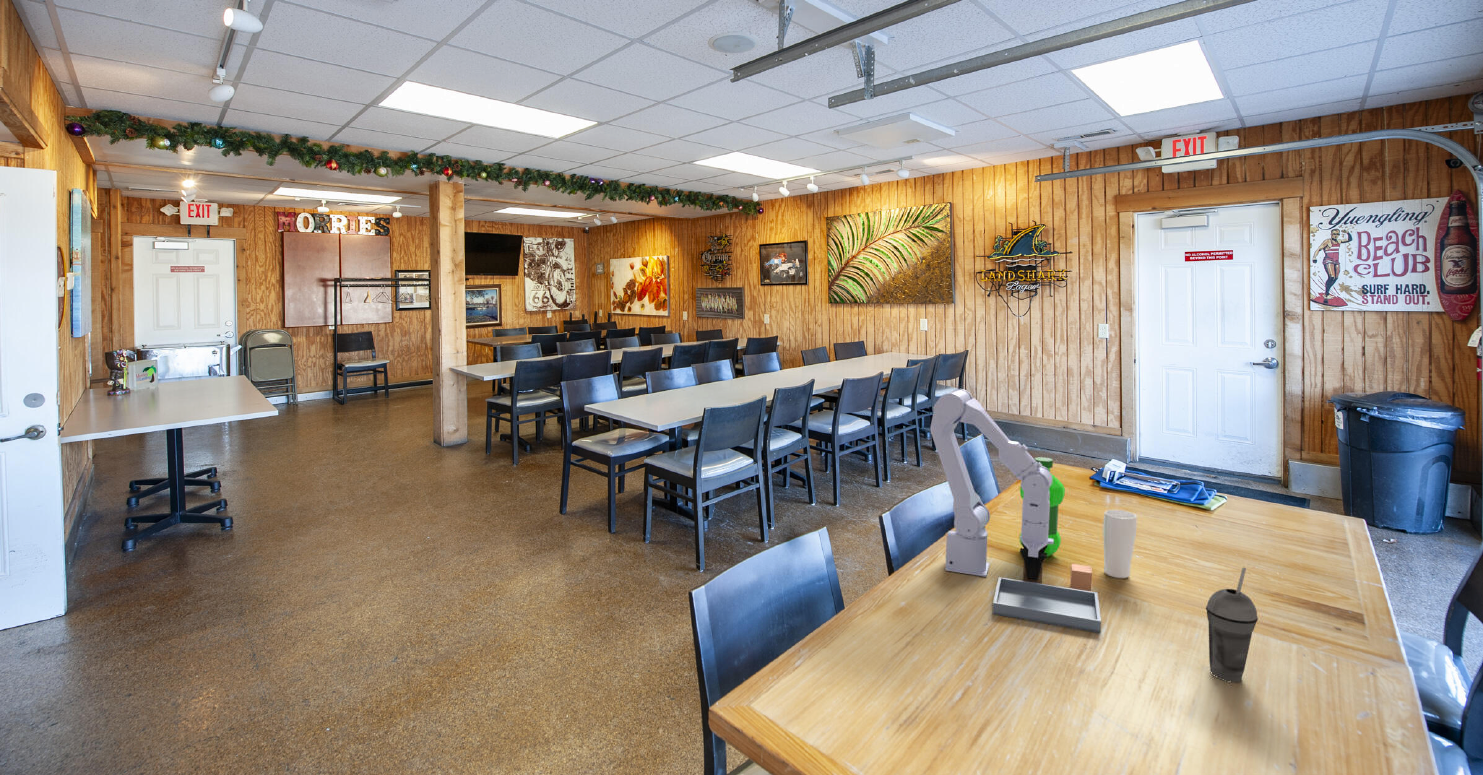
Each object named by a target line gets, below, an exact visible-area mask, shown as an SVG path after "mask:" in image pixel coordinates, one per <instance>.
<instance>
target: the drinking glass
mask: <svg viewBox="0 0 1483 775" xmlns="http://www.w3.org/2000/svg"><path fill="white" fill-rule="evenodd" d="M1137 518H1138V516H1137V514H1135V513H1133V512H1130V511H1127V510H1123V509H1109V510H1105V511H1104V515H1103V523H1102V524H1103V525H1102V526H1103V527H1102V533H1103V558H1104V559H1103V560H1104V565H1103V571H1104V573H1105V574H1106V575H1107V576H1109V577H1111V578H1114V579H1126V578H1127V579H1128V577H1130V575H1131V565H1132V559H1133V553H1134V548H1135V543H1136V542H1135V541H1136V536H1137V525H1138V522H1137V520H1138V519H1137Z"/></svg>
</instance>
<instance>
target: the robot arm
mask: <svg viewBox="0 0 1483 775" xmlns="http://www.w3.org/2000/svg"><path fill="white" fill-rule="evenodd" d="M959 422H960V423H963V424H964V423H965V424H969V425H974V427H976V429H978V430H979V431H980V432H981V434H982V435H983V436H985V438H986V439H988V440H989V442H991V444H993V445H994V447H995V448H997V450H998V458H999V460H1000V461H1001V462H1002V463H1003V465H1005V466H1006V468H1007V469H1008V470H1009V471H1010V472H1011V473H1012V474H1013V475H1014V476H1015V478H1016V479H1017V480H1020V481H1021V482H1020V486H1021V488H1022V490H1023V491H1024V498H1023V499H1022V510H1021V528H1020V529H1021V531H1020V534H1021V536H1020V535H1019V538H1020V540H1021V542H1022V545H1023V546H1022V545H1021V546H1022V547H1020V550H1019V553H1020V556H1021V557H1022V560H1023V564H1024V563H1025V568H1026V575H1027V579H1028V580H1035V581H1037V580H1038V577H1039V573H1040V569H1041V566H1042V564H1043V563H1044V562H1045V560H1046V559H1047V558H1048V557H1047V553H1044V551H1045V550H1046V548H1047V545H1048V544H1053V542H1054V540H1053V539H1050V538H1048V530H1049V511H1050V501H1049V498H1050V494H1049V493H1050V491H1049V488H1050V486H1051V484H1052V480H1053V479H1052V475H1053V474H1052V473H1051V471H1050V472H1049V470H1048V469H1047V468H1046V467H1044V466H1042V464H1041V463H1040V462H1038V463H1037V462H1036V461H1035V458H1034V457H1033V456H1032V455H1031V454H1030V453H1029V452H1028V449H1029V448H1028V446H1027V445H1026V444H1024V443H1023V444H1021V443H1020V442H1019V441H1013V440H1010V439H1009V438H1008V436H1007V435H1006V434H1005V433H1004V431H1003V430H1002V429H1001V428H1000V427H999V426H998V424H997V423H996V422H995V420H994V419H993V418H992V417H991V416H990V414H989V413H988V412H987V411H986V410H985V408H984V407H983V406H982V404H981V403H980V402H979V401H978V400H977V399H976V398H975V397H973V396H972V394H971V393H970V392H969V391H968V390H966V389H963V388H957V389H954V390H952V391H950V392H949V393H944V394H943V395H941V396H940V397H939V398H938V399H937V401H936V402H935V403H934V405H933V414H932V418H931V422H930V423H931V424H930V433H931V437H932V439H933V442H934V446H935V448H936V451H937V454H938V457H939V460H940V463H941V465H942V468H943V472H944V475H945V478H946V480H947V482H948V486H949V489H950V492H951V495H952V497H953V503H952V504H953V506H952V510H953V514H954V520H953V524H954V528H955V530H948V532H947V536H946V546H945V568H944V569H945V571H946V572H953V573H954V572H955V573H960V574H966V575H972V576H980V577H987V575H988V571H989V567H990V563H989V562H987V560H988V559H987V554H988V531H987V529H986V525H988V523H989V521H990V518H991V515H990V511H989V509H988V508H987V506H986V505H984V503H983V501H982V499H981V497H980V496H979V495H978V494H977V492H976V491H975V488H974V486H973V484H972V480H971V478H970V475H969V471H968V468H967V465H966V463H965V460H964V458H963V454H962V451H961V449H960V446H959V443H958V440H957V436H956V434H955V429H956V428H957V425H958V424H959ZM1051 474H1052V475H1051ZM1020 540H1019V541H1020ZM1043 565H1044V564H1043Z"/></svg>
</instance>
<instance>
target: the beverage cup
mask: <svg viewBox="0 0 1483 775" xmlns="http://www.w3.org/2000/svg"><path fill="white" fill-rule="evenodd" d="M1246 571H1247V568H1246V567H1242V568H1241V573H1240V576H1239V579H1238V580H1239V581H1238V584H1237V588H1236V589H1234V588H1223V589H1219V590H1217V591H1215V592H1213V593H1212V595H1210V597H1209V598H1208V601H1207V604H1206V606H1205V610H1206V618H1207V621H1208V659H1209V660H1208V662H1209V663H1208V664H1209V671H1211V672H1212V674H1213V675H1215V676H1217V677H1218V678H1221V679H1224V680H1226V681H1225V682H1227V681H1231V682H1230V683H1235V682H1236V683H1240V682H1242V680H1243V675H1244V672H1245V668H1246V663H1247V660H1248V654H1249V650H1250V645H1251V639H1252V635H1253V632H1254V630H1255V628H1256V624H1257V622H1258V619H1259V617H1258V611H1257V608H1256V606H1255V604H1254V602H1253V601H1252V600H1251V598H1250V597H1249V596H1248V595H1246V594H1245V593H1243V592H1242V591H1241V590H1242V587H1243V582H1244V579H1245V574H1246ZM1211 672H1210V673H1211ZM1212 674H1211V675H1212ZM1213 675H1212V676H1213ZM1215 676H1214V677H1215ZM1218 678H1217V679H1218ZM1221 679H1220V680H1221ZM1224 680H1223V681H1224ZM1239 681H1240V682H1239Z"/></svg>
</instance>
